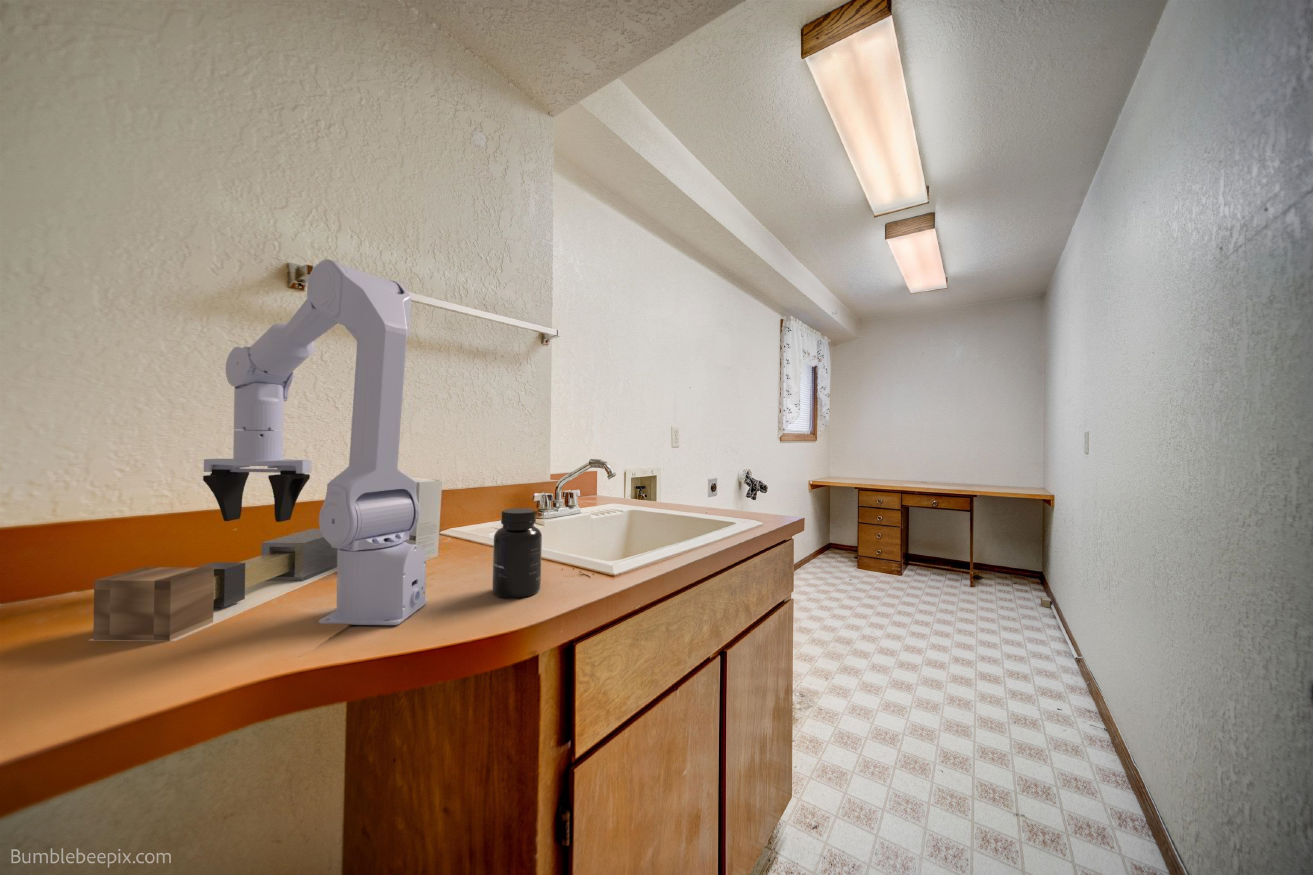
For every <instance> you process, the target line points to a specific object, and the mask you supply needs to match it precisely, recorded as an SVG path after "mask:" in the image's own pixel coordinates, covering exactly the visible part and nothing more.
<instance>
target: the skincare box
mask: <svg viewBox="0 0 1313 875" xmlns="http://www.w3.org/2000/svg"><path fill="white" fill-rule="evenodd" d="M410 477H411V476H410ZM411 478H412V479H413V480H414V481H415V482H416V483H417V484H416V496H417V501H418V504H419V508H420V514H419V520H418V523H417V525H416V527H415V528H414V530H413V531H412V532H410V533H409V540H405V541H404V542H406V543H408V544H413V545H419V546H421V547H422V548H423V550H424V552H425V557H426V561H428V560H429V559H433V558H434V559H435V558H436V557H438V556H439V540H440V525H441V524H440V523H441V510H442V509H441V508H442V491H443V490H442V489H443V480H440V479H431V478H425V477H424V478H423V477H413V476H412V477H411ZM384 491H385V490H384Z"/></svg>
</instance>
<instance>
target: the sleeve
mask: <svg viewBox="0 0 1313 875" xmlns="http://www.w3.org/2000/svg"><path fill="white" fill-rule="evenodd" d="M274 551H295V570H292V571H289V572H287V573H284V574H281V575H279V576H276V577H273V578H271V579H268V580H265V581H305V580H307V579H310V578H312V577H314V576H317V575H319V574H322V573H324V572H326V571H329V570H331V569H334V568H336V567H337V548H333V547H331V544H329V543H328V542H327V541H326V540H325V538H324V537H323V535H322V533H321V530H320V528H309V529H306V530H302V531H299V532H295V533H292V534H287V535H285V536H284V535H283V536H282V537H277V538H273V539H270V540H267V541H265V540H264V541H263V542H261V553H260V556H261V555H265V554H268V553H271V552H274Z"/></svg>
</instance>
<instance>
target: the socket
mask: <svg viewBox="0 0 1313 875" xmlns="http://www.w3.org/2000/svg"><path fill="white" fill-rule="evenodd" d="M93 584H94V585H93V634H92V636H93V637H92V639H93V640H143V641H142V642H171V641H170V640H173V639H175V638H177V637H180V636H182V635H184V634H187V633H189V632H191V631H194V630H196V629H198V628H201V627H203V626H205V625H208V624H210V623H212V622H213V603H214V568H197V567H176V566H175V567H173V566H171V567H169V566H168V567H167V566H166V567H163V566H162V567H161V566H160V567H159V566H156V567H155V566H153V567H152V566H148V567H147V566H144V567H141V568H136V569H131V570H128V571H125V572H121V573H116V574H113V575H110V576H109V575H108V576H106V577H102V578H97V579H94V581H93Z"/></svg>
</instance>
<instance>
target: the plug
mask: <svg viewBox="0 0 1313 875" xmlns="http://www.w3.org/2000/svg"><path fill="white" fill-rule="evenodd" d="M196 568H214V603H213V607H226V606H229V605H231V604H234V603H236V602H239V601H241V600H244V599H245V588H247V587H249V586H252V585H255V584H257V583H260V582H263V581H265V580H268V579H271V578H273V577H276V576H279V575H281V574H284V573H287V572H289V571H292V570H295V551H274V552H271V553H268V554H265V555H261V554H260V555H258V556H256V557H251V558H249V559H245V560H242V561H239V562H227V561H226V562H223V561H220V562H217V561H214V562H211V563H208V564H203V565H201V566H197V567H196Z"/></svg>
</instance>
